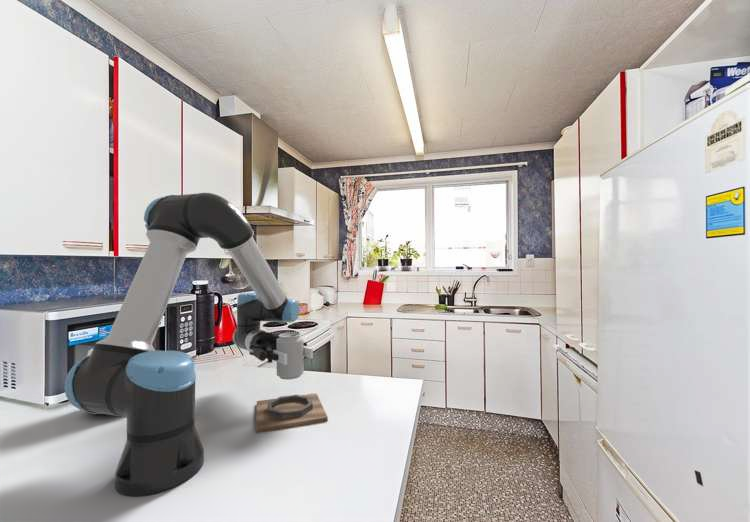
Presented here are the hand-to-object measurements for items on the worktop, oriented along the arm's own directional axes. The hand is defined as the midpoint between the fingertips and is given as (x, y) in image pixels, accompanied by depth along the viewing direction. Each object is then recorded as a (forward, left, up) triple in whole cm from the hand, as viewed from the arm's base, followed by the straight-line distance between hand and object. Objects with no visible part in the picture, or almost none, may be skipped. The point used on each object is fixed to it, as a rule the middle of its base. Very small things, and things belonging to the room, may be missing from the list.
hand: (299, 356), depth 91 cm
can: (+5, +2, -7) cm, 8 cm away
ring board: (+4, +2, -17) cm, 17 cm away
